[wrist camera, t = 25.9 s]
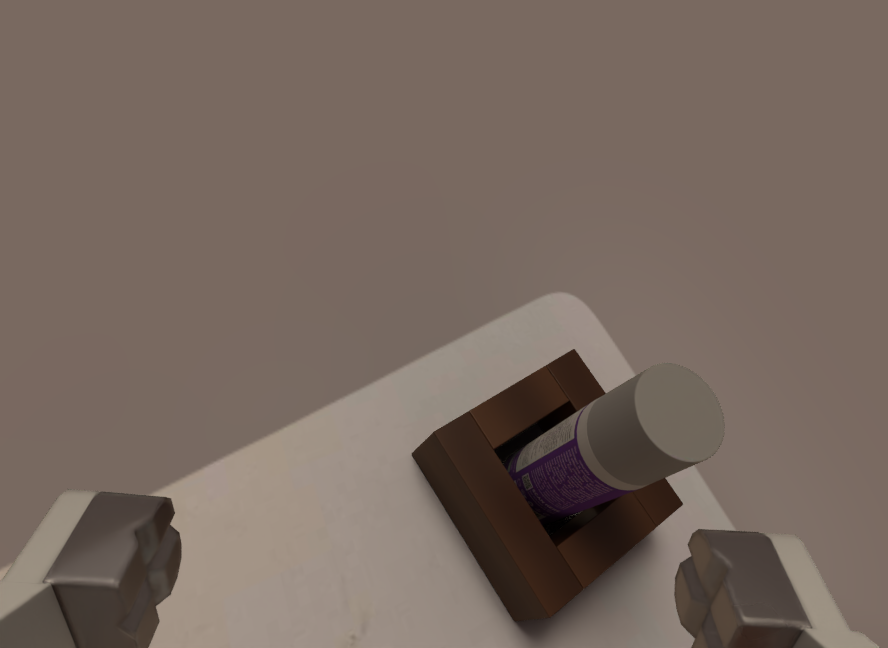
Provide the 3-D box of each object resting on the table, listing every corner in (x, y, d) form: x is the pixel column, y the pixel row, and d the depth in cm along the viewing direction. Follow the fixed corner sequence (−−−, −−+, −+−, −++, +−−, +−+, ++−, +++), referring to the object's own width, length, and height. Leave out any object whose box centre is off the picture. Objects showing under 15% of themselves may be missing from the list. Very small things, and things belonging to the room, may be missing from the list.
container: (572, 524, 41) (740, 464, 28) (502, 528, 39) (646, 466, 27) (559, 449, 43) (711, 361, 30) (492, 450, 41) (622, 358, 29)
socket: (514, 622, 37) (550, 618, 33) (411, 453, 40) (433, 432, 36) (640, 517, 43) (684, 504, 39) (542, 374, 45) (574, 348, 41)
